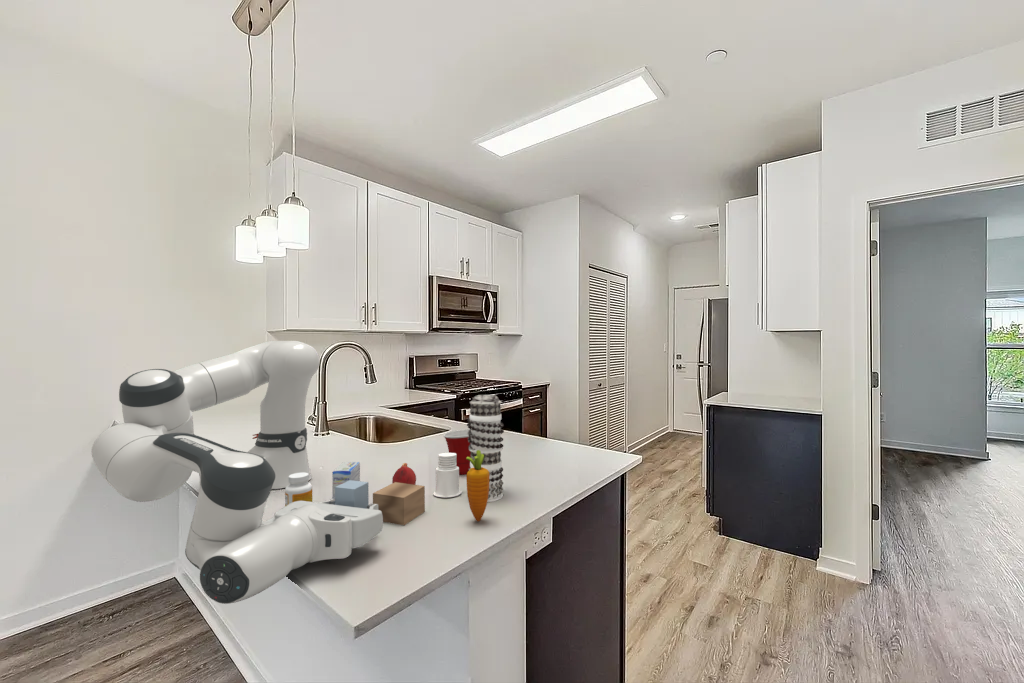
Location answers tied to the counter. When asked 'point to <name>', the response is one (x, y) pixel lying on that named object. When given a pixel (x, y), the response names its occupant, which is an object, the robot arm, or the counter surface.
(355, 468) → the medicine box
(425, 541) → the counter surface
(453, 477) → the downlight
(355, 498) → the slate pillar
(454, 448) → the plastic cup
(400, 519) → the walnut block
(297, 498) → the supplement bottle
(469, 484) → the carrot
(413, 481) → the red round fruit
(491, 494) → the decorative candle
